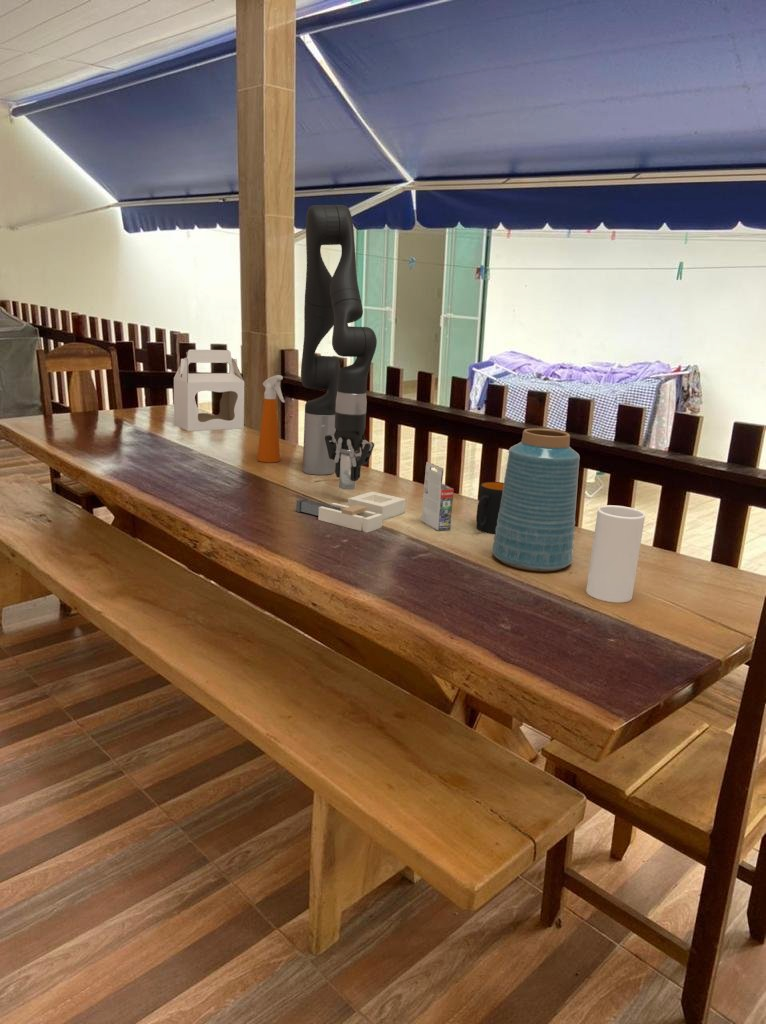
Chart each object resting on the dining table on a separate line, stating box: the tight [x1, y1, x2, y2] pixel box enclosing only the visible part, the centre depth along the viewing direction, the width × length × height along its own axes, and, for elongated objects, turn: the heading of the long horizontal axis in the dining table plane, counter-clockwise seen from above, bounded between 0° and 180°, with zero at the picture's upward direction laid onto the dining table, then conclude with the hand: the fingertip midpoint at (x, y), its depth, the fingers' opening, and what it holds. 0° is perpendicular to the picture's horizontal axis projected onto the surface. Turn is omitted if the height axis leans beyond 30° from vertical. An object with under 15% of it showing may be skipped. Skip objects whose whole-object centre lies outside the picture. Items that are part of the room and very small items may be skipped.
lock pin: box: [295, 497, 340, 516], centre depth 182 cm, size 3×11×3 cm, turn 56°
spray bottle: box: [256, 374, 286, 464], centre depth 233 cm, size 7×11×26 cm, turn 41°
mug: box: [475, 481, 504, 535], centre depth 178 cm, size 8×12×10 cm
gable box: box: [173, 349, 245, 432], centre depth 283 cm, size 22×13×28 cm, turn 125°
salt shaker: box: [338, 448, 358, 490], centre depth 194 cm, size 5×5×10 cm
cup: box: [585, 504, 646, 604], centre depth 142 cm, size 8×8×16 cm
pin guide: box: [317, 502, 383, 534], centre depth 177 cm, size 6×14×4 cm, turn 56°
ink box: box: [421, 461, 454, 532], centre depth 179 cm, size 4×8×15 cm, turn 26°
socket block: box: [347, 491, 407, 522], centre depth 188 cm, size 10×10×4 cm
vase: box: [491, 428, 581, 573], centre depth 157 cm, size 16×16×27 cm
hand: (347, 478), depth 194 cm, fingers closed on salt shaker, 4 cm apart
